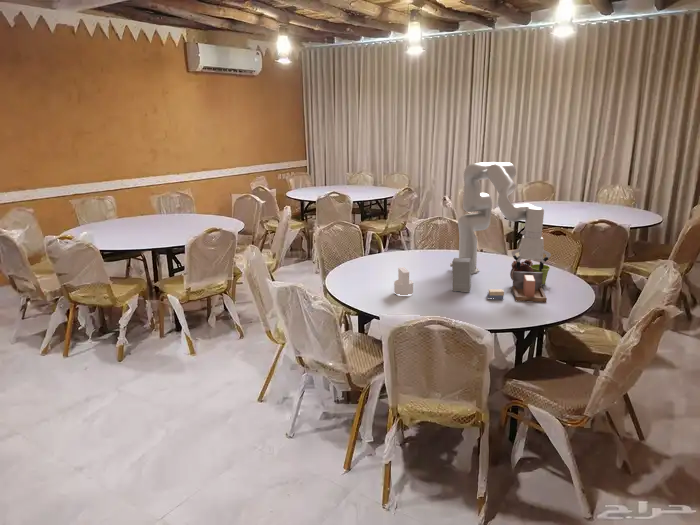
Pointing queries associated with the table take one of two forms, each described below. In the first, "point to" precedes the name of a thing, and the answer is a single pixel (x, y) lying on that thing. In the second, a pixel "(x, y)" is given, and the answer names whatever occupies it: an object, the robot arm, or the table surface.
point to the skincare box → (461, 274)
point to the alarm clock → (522, 267)
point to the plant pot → (544, 271)
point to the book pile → (495, 293)
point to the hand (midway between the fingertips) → (529, 270)
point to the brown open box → (518, 287)
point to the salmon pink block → (529, 285)
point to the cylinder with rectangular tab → (403, 283)
